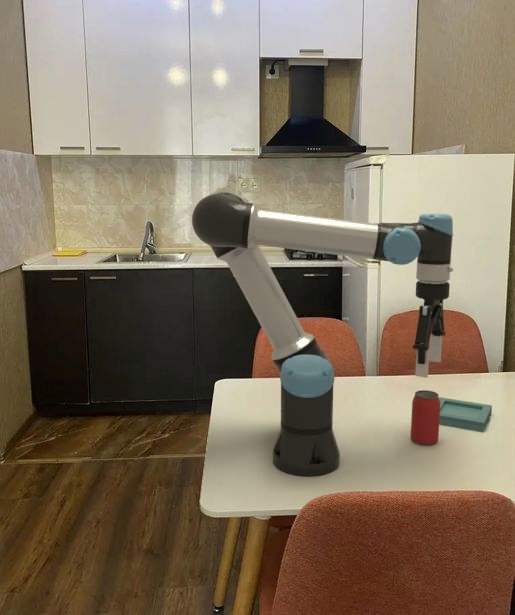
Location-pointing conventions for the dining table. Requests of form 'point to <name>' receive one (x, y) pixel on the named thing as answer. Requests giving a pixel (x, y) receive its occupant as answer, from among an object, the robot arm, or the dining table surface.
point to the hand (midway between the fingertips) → (428, 368)
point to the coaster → (464, 414)
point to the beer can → (425, 417)
